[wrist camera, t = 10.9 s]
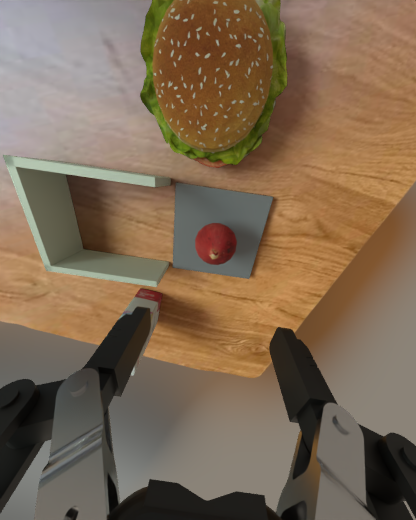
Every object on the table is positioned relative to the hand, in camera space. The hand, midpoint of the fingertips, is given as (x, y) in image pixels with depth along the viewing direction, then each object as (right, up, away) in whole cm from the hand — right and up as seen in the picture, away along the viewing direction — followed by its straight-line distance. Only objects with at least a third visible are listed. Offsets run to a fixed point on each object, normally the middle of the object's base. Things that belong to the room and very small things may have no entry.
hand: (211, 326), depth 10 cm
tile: (+1, +8, +17) cm, 19 cm away
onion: (+1, +8, +16) cm, 18 cm away
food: (+1, +24, +10) cm, 26 cm away
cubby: (-15, +11, +17) cm, 25 cm away
